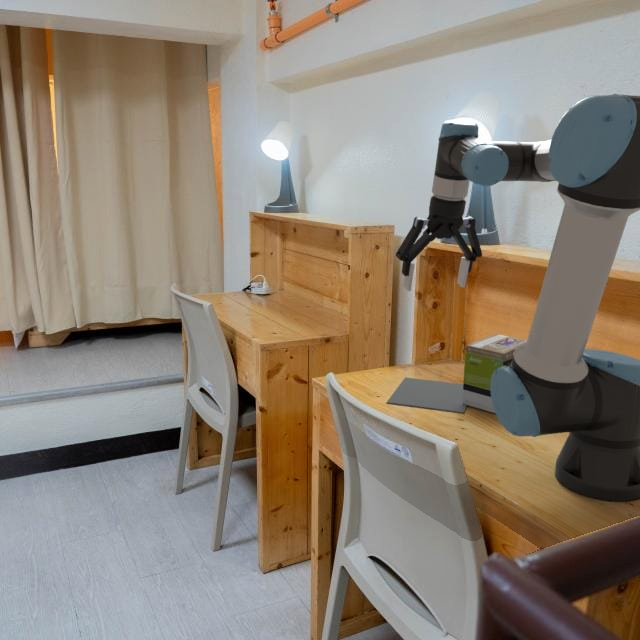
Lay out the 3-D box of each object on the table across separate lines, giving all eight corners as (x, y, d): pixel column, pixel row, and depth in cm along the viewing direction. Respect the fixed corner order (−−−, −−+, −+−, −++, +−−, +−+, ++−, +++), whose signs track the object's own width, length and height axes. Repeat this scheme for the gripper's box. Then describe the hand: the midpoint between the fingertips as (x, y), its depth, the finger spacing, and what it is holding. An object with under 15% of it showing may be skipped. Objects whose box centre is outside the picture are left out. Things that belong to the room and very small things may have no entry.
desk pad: (463, 413, 143) (463, 412, 143) (386, 403, 149) (386, 402, 149) (474, 386, 161) (474, 385, 161) (405, 378, 167) (405, 377, 167)
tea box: (491, 389, 158) (496, 332, 155) (529, 399, 152) (535, 340, 148) (460, 403, 148) (465, 343, 144) (499, 415, 141) (505, 352, 138)
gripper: (491, 190, 141) (474, 277, 151) (388, 191, 134) (377, 283, 144) (509, 200, 135) (490, 290, 144) (401, 201, 128) (389, 296, 137)
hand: (434, 286), depth 144 cm, fingers open, 13 cm apart
